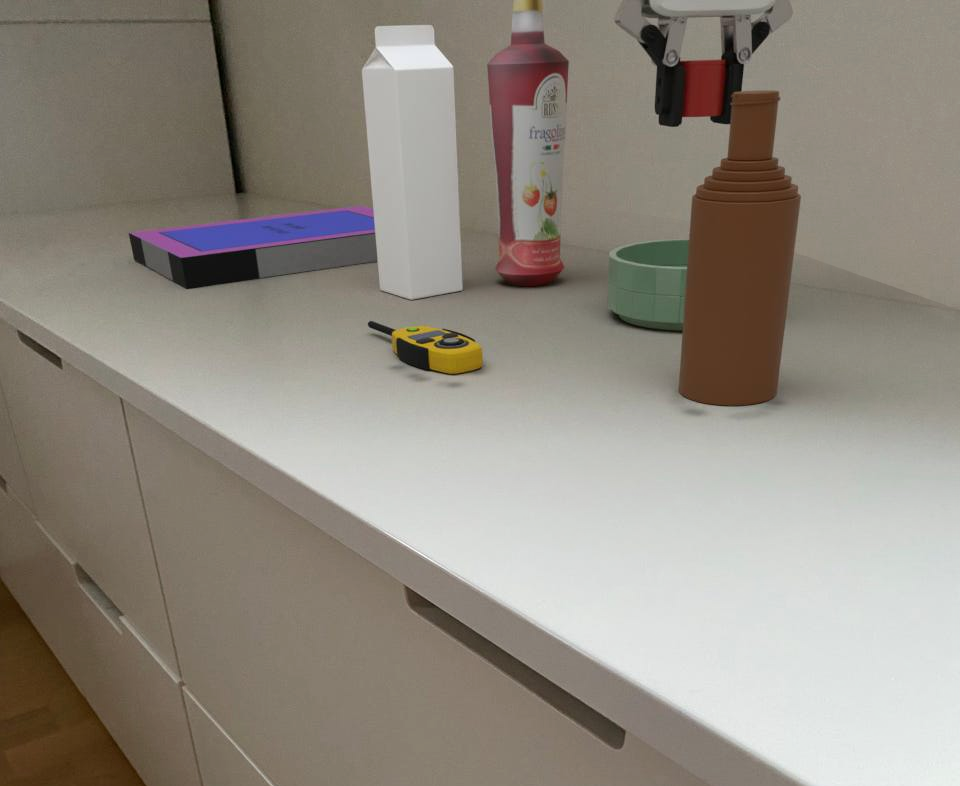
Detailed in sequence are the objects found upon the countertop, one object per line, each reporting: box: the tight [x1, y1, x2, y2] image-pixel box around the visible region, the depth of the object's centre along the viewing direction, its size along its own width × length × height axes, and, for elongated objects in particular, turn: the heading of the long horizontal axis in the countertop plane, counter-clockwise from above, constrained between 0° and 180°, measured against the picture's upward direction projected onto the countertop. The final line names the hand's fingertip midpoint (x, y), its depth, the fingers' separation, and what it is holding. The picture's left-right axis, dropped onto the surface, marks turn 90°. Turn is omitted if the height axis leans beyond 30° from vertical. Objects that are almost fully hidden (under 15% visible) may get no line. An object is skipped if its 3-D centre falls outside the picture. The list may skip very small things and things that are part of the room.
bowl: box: [607, 238, 689, 332], centre depth 83 cm, size 13×13×5 cm
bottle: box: [678, 90, 802, 407], centre depth 61 cm, size 6×6×18 cm
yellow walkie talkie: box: [367, 320, 484, 375], centre depth 76 cm, size 5×2×15 cm
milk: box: [361, 24, 464, 301], centre depth 90 cm, size 6×6×22 cm
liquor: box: [486, 0, 570, 287], centre depth 90 cm, size 7×7×28 cm
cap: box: [680, 59, 726, 118], centre depth 75 cm, size 4×4×4 cm
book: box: [128, 205, 378, 290], centre depth 114 cm, size 21×3×30 cm
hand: (696, 121), depth 76 cm, fingers closed on cap, 3 cm apart
